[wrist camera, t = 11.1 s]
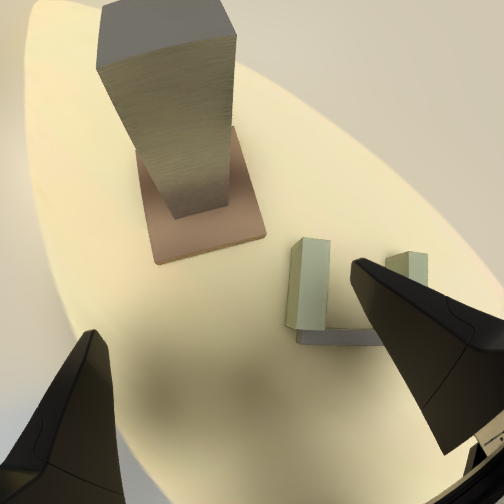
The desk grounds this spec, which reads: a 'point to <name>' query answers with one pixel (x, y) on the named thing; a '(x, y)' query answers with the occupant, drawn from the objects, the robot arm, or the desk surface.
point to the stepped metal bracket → (173, 93)
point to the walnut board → (203, 216)
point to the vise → (316, 291)
